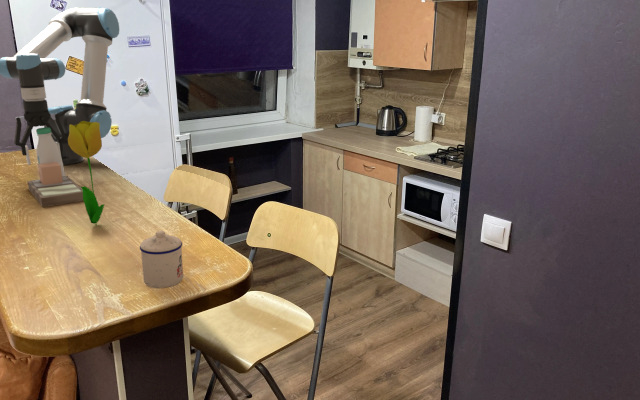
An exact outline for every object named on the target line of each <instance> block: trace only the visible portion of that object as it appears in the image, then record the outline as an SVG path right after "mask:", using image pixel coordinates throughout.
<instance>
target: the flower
mask: <svg viewBox="0 0 640 400" xmlns="http://www.w3.org/2000/svg"><path fill="white" fill-rule="evenodd" d="M102 142H103V141H102V138H101V135H100V123H98V122H86V121H81V122H80V123H79V124H77V125H75V126H74V125H71V124H70V125H69V137H68V145H69V146H70V148H71V149H72V150H73V151H74V152H75V153H77V154H78V155H80V156H81V157H83V159H84V158H85V159H87V164H88V169H89V176H90V181H91V189H90V188H89V187H87V186H83V185H82V186H80V188H81V189H82V192H83V200H84V201H83V203H84V206H85V210H86V213H87V216H88V218H89V221H90V223H91V224H94V225H95V226H97V223H99V221H100V219H101V216H102V213H103V211H104V208H105V207H104V206H105V204H100V205H99V203H98V200H97V197H96V195H95V191H94V184H93V181H94V180H93V175H92V168H91V167H92V166H91V159H90V158H91V157H94V156H95V155H97V154H98V153H99V152H100V151H101V149H102V147H103V143H102Z"/></svg>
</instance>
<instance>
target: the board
mask: <svg viewBox="0 0 640 400" xmlns="http://www.w3.org/2000/svg"><path fill="white" fill-rule="evenodd" d="M62 180H63V182H62V183H54V184H47V185H43V184H42V182H41V181H40V179H35V180H33V179H31V180H27V186H28V187H27V188H28V190H29V192H30V193H31V195H32V196H33V198H35V199H36V201H37V202H38V203H39V205H40V206H41V207H42V208H46V207H47V208H48V207H52V206H53V207H54V206H59V205H65V204H71V203H73V204H74V203H79V202H84V200H83V192H82V188H81V186H79V185H78V184H77V183H76V182H75V181H74V180H72V179H71V178H70V176H68V175H65V176H63V177H62Z"/></svg>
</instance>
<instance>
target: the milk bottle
mask: <svg viewBox="0 0 640 400" xmlns="http://www.w3.org/2000/svg"><path fill="white" fill-rule="evenodd" d="M36 134H37V135H36V136H38V137H37V138H38V140H37V141H38V142H37V146H36V150H35V151H36V158H37V162H38V163H37V164H44V163H52V162H57V163H58V164H60V165H61V172H62V177H63V176H66V173H65V169H64V165H63V162H62V158H61V154H60V150H59V147H58V146H57V144H56V143H55V141H54V140H53V138H52V136H51V134H52V133H51V129H50V128H48V127H44V126H43V127H39V128H36Z"/></svg>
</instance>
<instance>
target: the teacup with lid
mask: <svg viewBox="0 0 640 400" xmlns="http://www.w3.org/2000/svg"><path fill="white" fill-rule="evenodd" d="M182 247H183V242H182V240H181V238H179V237H177V236H174V235H169V234H167V233H166V232H165V231H163V230H158V231H155V235H152V236H150V237H148V238H146V239H144V240H142V241H141V243H140V245H139V250H140V253H141V263H142V264H141V265H142V275H143V283H144V284H145V285H146V286H147V287H150V288H154V289H155V288H156V289H164V288H170V287H174V286H176V285H178V284H180V283H181V282H182V280H183V278H184V266H183V256H182V255H183V250H182Z"/></svg>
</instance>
